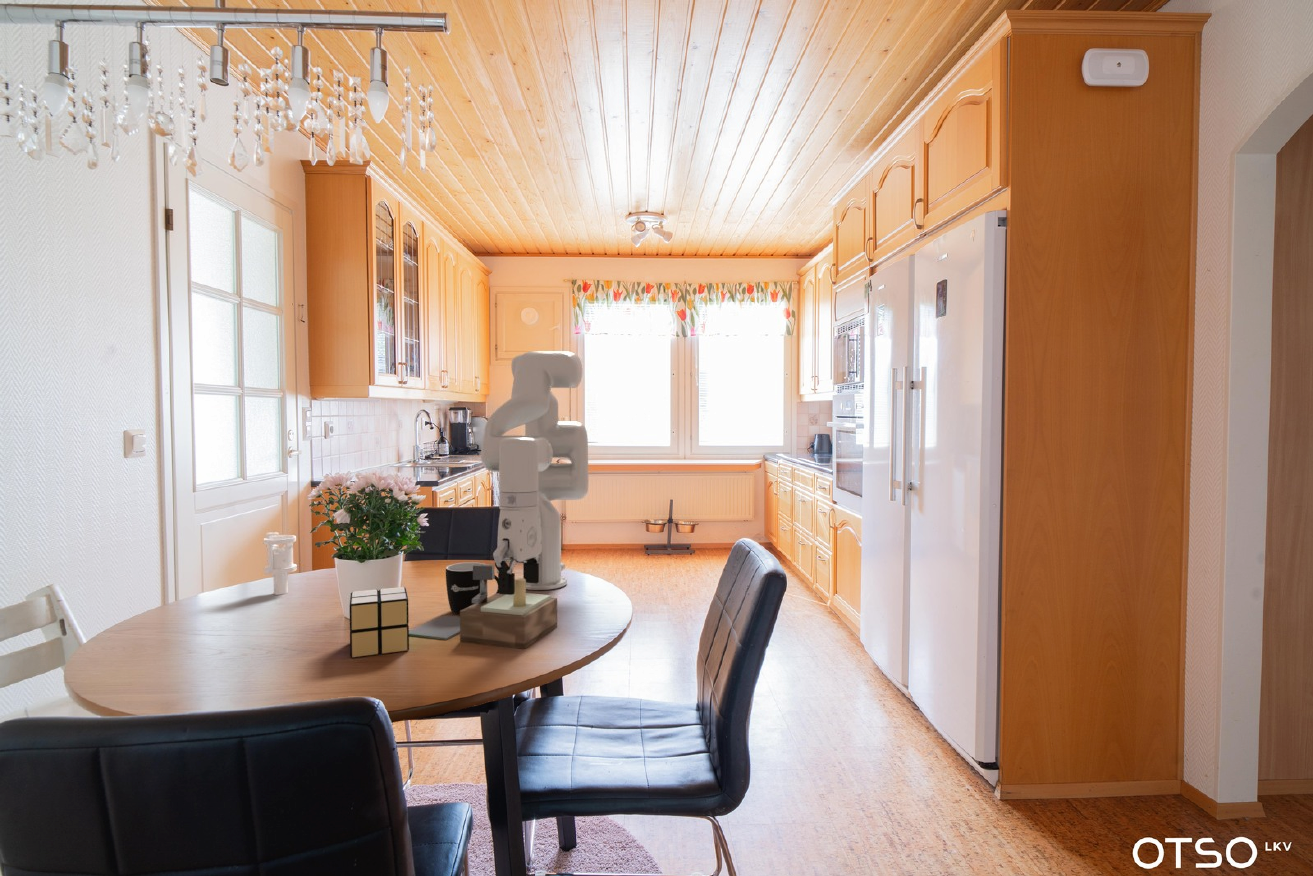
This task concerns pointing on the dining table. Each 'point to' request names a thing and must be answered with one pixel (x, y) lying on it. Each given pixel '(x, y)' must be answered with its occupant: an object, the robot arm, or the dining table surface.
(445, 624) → the mat
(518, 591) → the cover
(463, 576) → the mug
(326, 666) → the dining table surface
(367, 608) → the puzzle cube
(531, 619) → the case
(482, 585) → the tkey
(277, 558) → the white cylindrical part
